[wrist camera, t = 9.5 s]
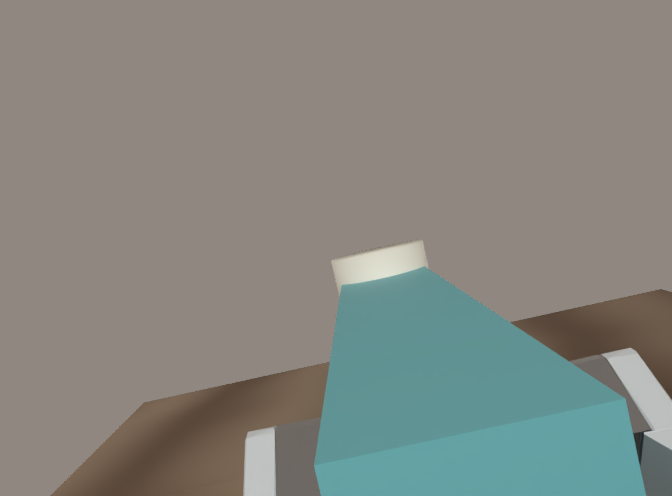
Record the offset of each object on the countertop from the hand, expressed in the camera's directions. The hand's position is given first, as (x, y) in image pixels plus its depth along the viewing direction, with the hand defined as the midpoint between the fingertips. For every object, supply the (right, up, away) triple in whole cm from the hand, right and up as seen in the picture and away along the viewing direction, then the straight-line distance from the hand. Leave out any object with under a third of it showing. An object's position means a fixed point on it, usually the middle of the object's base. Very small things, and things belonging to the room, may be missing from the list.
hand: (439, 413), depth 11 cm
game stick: (+1, -2, +7) cm, 8 cm away
